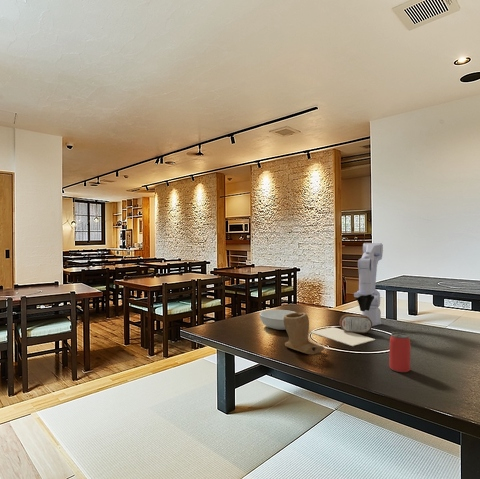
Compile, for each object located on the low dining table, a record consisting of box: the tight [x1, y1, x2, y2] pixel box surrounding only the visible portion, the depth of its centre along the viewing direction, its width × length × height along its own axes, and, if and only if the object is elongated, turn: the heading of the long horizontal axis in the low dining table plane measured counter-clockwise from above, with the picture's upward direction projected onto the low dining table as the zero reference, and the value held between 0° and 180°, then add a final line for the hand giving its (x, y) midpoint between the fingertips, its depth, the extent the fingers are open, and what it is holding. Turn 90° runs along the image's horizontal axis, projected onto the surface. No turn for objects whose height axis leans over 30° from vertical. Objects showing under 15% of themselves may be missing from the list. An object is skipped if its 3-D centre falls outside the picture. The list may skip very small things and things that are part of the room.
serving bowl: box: [259, 309, 295, 331], centre depth 171 cm, size 21×21×7 cm
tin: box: [338, 313, 373, 334], centre depth 163 cm, size 15×3×8 cm, turn 84°
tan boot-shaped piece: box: [284, 311, 325, 355], centre depth 137 cm, size 15×12×15 cm
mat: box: [310, 326, 376, 347], centre depth 157 cm, size 16×24×1 cm, turn 34°
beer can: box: [388, 332, 412, 373], centre depth 118 cm, size 7×7×12 cm
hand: (364, 310), depth 166 cm, fingers open, 3 cm apart
